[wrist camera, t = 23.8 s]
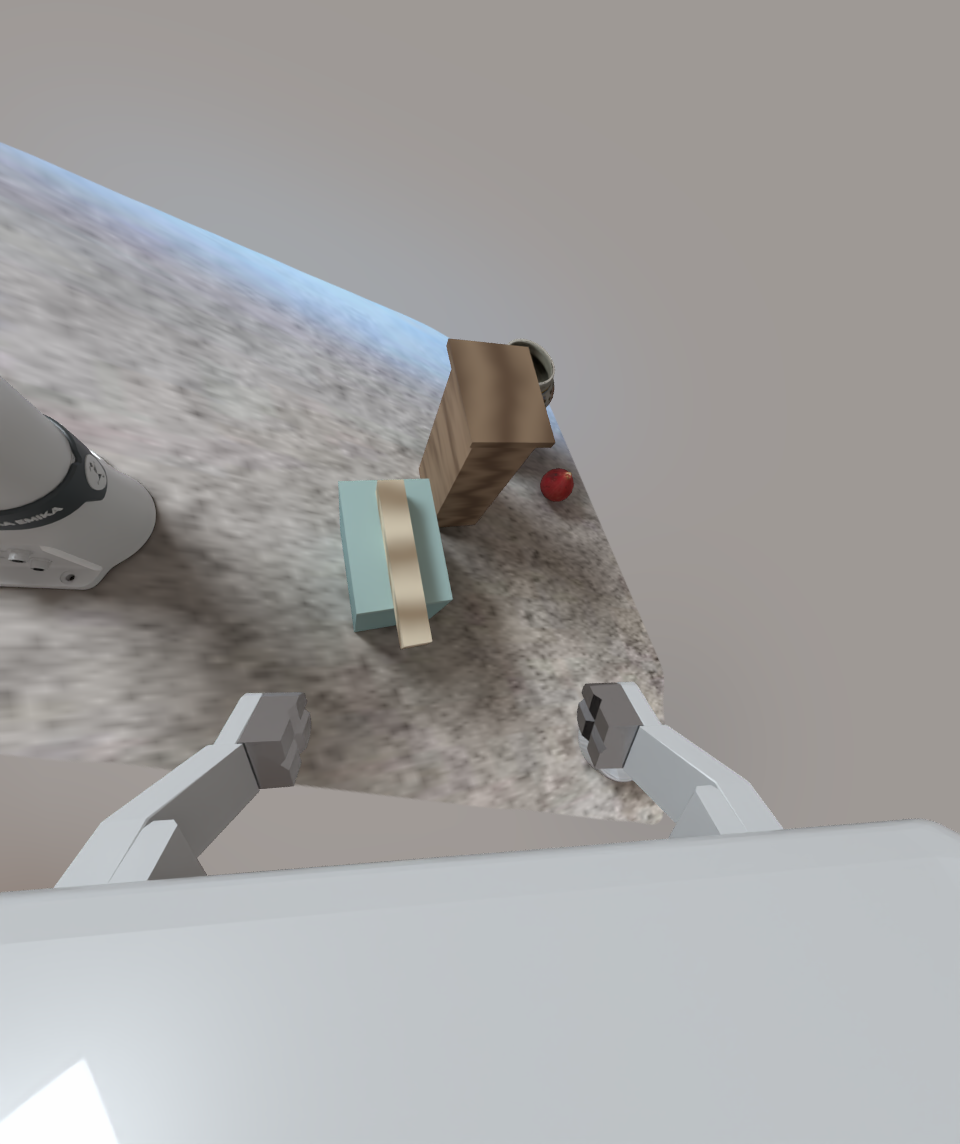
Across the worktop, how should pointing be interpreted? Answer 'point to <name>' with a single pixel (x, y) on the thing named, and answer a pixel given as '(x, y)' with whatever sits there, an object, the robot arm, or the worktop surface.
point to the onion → (557, 484)
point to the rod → (402, 564)
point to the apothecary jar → (540, 367)
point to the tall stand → (483, 428)
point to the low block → (369, 554)
